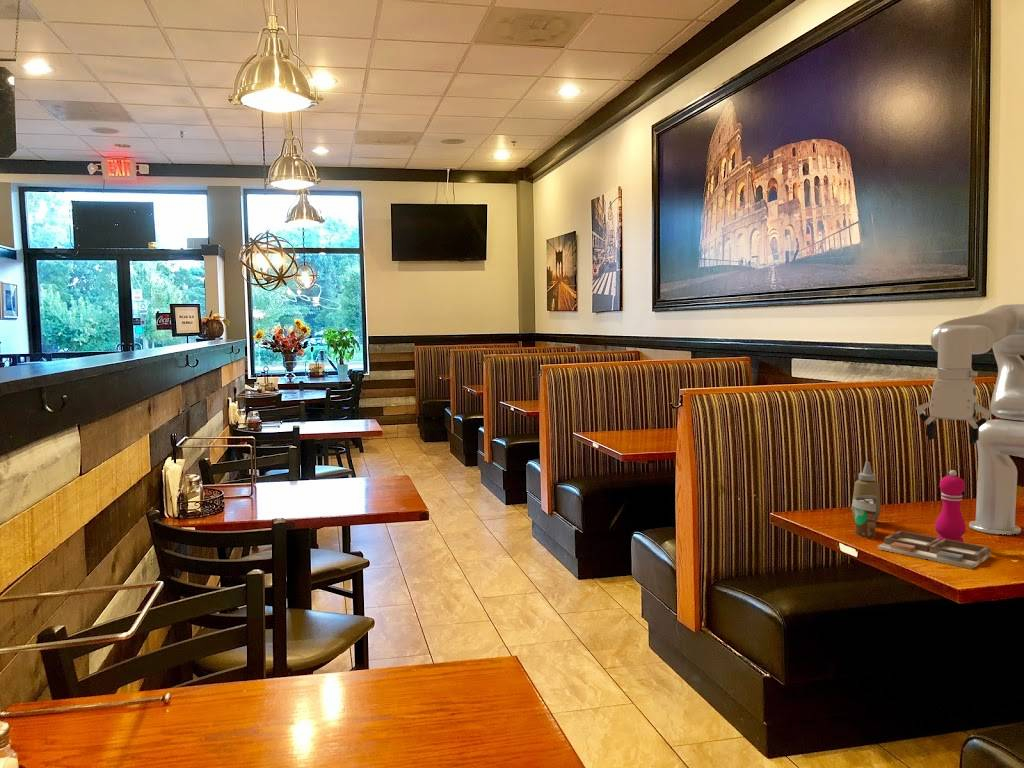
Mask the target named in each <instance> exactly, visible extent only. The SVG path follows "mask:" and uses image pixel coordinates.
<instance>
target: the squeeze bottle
mask: <svg viewBox="0 0 1024 768" xmlns="http://www.w3.org/2000/svg"><path fill="white" fill-rule="evenodd" d="M876 479H877V475H876V474H875V473H873V472H872V466H871V462H870V461H865V463H864V467H863V470H862V472H859V473H858V480H856V481H855V482H854V487H853V495H852V499H851V502H852V503H853V500H854V499H855V497H857V496H865V495H870V496H877V504H876V523H877V522H878V519H879V517H880V515H881V512H882V509H881V507H882V506H881V493H880V483H879V482H877V481H876ZM852 503H851V504H852ZM850 508H851V512H852V515H853V516H852V517H853V520H855V507H853V506H852V505H851V506H850Z"/></svg>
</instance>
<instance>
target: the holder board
mask: <svg viewBox="0 0 1024 768" xmlns="http://www.w3.org/2000/svg"><path fill="white" fill-rule="evenodd" d="M883 538H884V539H883V543H881V544H879V545H877V549H880V550H879V551H881V550H884V551H883V552H886V551H889V552H888V553H891V552H895V553H894V554H896V553H900V554H899V555H901V554H905V555H909V556H908V557H910V556H914V557H913V558H915V557H918V558H917V559H920V558H922V559H921V560H925V559H928V560H927V561H930V560H932V561H931V562H935V561H937V562H936V563H939V562H941V563H940V564H944V563H945V564H946V565H951V566H955V567H960V568H964V569H965V568H966V569H968V570H973V569H975V568H976V567H977V566H979V565H980V564H981V563H983V562H984V561H986V560H987V559H989V558H990V557H991V556H992V552H990V547H989V546H985V545H979V544H974V543H968V542H965V541H963V542H959V541H953V540H948V539H942V538H937V536H931V535H926V534H920V533H915V532H909V531H904V530H897V531H896V532H893V533H892V534H889V535H888V536H885V537H883ZM905 555H904V556H905Z"/></svg>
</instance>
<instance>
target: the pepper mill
mask: <svg viewBox="0 0 1024 768" xmlns="http://www.w3.org/2000/svg"><path fill="white" fill-rule="evenodd" d="M948 473H949V475H945V476H944V477H942V478H941V479H940V481H939V488H940V490H941V497H940V498H941V499H942V508H941V511H940V513H939V514H938V516H937V519H936V520H935V524H934V525H935V526H934V528H935V531H936V532H937V533H938V534H937V535H936V537H937V538H942V539H948V540H953V541H959V542H964V538H963V536H964V534H966V533H967V525H966V522H965V520H964V518H963V515H962V511H961V501H963V497H964V495H963V494H962V493H963V492H964V491H965V490H966V483H965V481H964V479H963V478H961V477H960V476H957V474H958V473H957V471H956V470H954V469H951V470H950V471H948Z"/></svg>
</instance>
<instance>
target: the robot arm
mask: <svg viewBox="0 0 1024 768" xmlns="http://www.w3.org/2000/svg"><path fill="white" fill-rule="evenodd" d="M930 345H931V347H932V348H933V350H935V351H936V352H937V374H936V378H937V379H934V381H933V383H932V384H933V385H932V389H931V395H930V401H928V402H925V403H922V404H920V405H918V406H916V407H915V410H916V411H917V413H918V415H919V418H920V419H921V420H922V421H923V422H924V423H925V425H926V433H925V434H926V436H927V439H928V441H932V440H935V439H936V423H935V421H937V419H940V420H941V419H942V420H952V421H955V420H956V421H966V422H968V423H969V425H970V426H971V428H970V429H969V444H970V445H974V444H976V448H977V456H978V457H977V458H978V459H977V460H978V461H977V462H978V463H977V465H978V467H977V482H976V483H977V485H976V502H975V503H976V505H975V520H970V521H969V522H968V523H969V524H968V527H969V528H970V529H971V530H974V531H977V532H981V533H987V534H991V535H999V534H1002V536H1015V535H1014V534H1016V535H1020V534H1021V532H1022V528H1021V527H1020V526H1018V525H1015V524H1016V508H1017V507H1016V504H1017V490H1018V489H1017V487H1018V468H1017V466H1016V464H1015V462H1014V461H1013V459H1012V458H1011V457H1010V456H1018V457H1024V360H1023V358H1022V357H1021V356H1024V303H1023V304H1019V303H1018V304H1014V303H1013V304H1012V303H1011V304H1001V305H999V306H996V307H994V308H992V309H990V310H988V311H985V312H983V313H980V314H974V315H970V316H964V317H960V318H953V319H951V320H947V321H943V322H942V323H940V324H938V325H937V326H936V327H935V328H934V329H933V331H932V333H931V335H930ZM991 349H992V351H993V355H994V358H995V359H994V360H995V361H996V364H997V378H996V381H995V384H994V389H993V393H992V396H991V400H990V410H989V409H988V408H986V407H983V406H981V405H980V404H978V395H977V392H978V391H977V386H976V382H975V380H972V379H973V378H974V377H976V378H977V377H978V374H979V373H978V371H974V370H973V368H972V359H973V358H972V357H973V356H972V355H982V354H985V353H988V352H989V351H990V350H991ZM927 408H929V415H930V416H928V414H927V413H926V411H925V410H926V409H927ZM978 412H979V413H981V414H982V417H981V418H980V419H979V420H978V419H977V417H978ZM991 415H994V416H995V417H996V418H999V419H990V417H991ZM1000 418H1001V419H1000ZM1004 534H1005V535H1004ZM1006 534H1007V535H1006ZM1012 534H1013V535H1012Z"/></svg>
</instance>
